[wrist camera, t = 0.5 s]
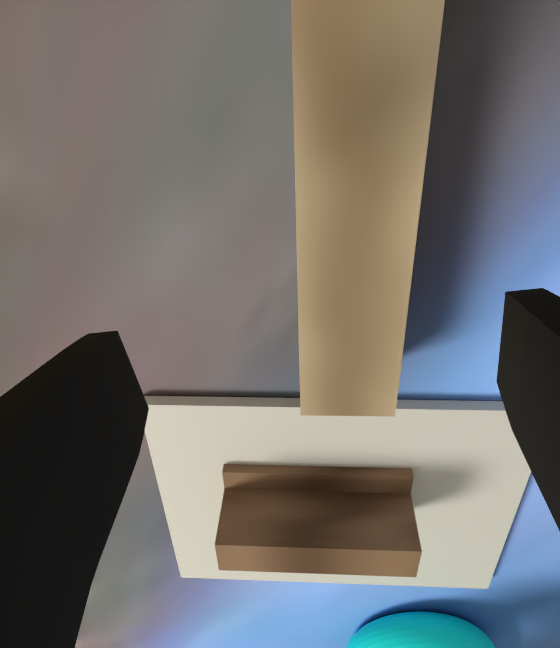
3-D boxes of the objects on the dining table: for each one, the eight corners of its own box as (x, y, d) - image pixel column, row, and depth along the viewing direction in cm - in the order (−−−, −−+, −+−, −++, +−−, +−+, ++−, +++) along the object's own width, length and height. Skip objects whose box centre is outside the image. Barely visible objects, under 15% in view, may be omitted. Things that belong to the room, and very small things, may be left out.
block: (412, 468, 24) (425, 535, 21) (402, 524, 27) (413, 591, 24) (223, 463, 25) (211, 528, 22) (231, 519, 27) (221, 584, 24)
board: (548, 401, 22) (553, 411, 22) (484, 578, 30) (487, 588, 29) (142, 395, 23) (138, 404, 23) (183, 567, 31) (181, 577, 31)
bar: (432, -144, 13) (466, -181, 10) (384, 358, 22) (395, 416, 19) (293, -136, 13) (287, -169, 10) (302, 358, 22) (300, 415, 19)
